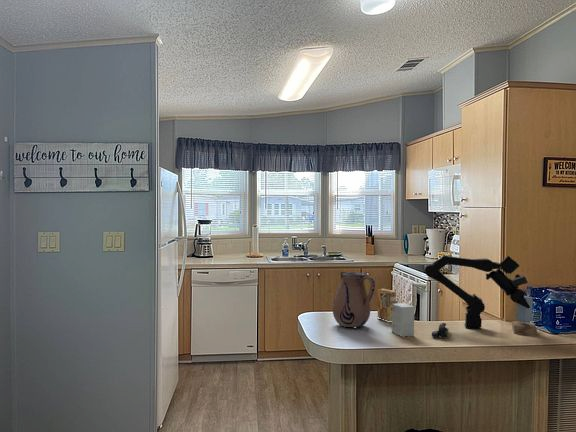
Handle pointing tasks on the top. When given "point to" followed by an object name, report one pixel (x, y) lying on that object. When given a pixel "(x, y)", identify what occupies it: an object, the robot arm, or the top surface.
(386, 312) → the candy box
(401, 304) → the small box
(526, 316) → the pillar
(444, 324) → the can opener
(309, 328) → the top surface
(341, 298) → the ceramic pitcher
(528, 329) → the base block
